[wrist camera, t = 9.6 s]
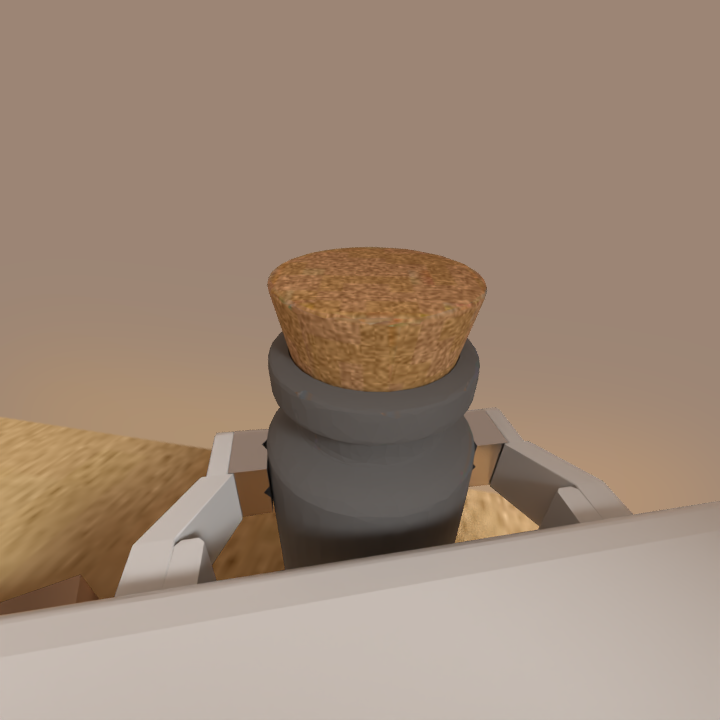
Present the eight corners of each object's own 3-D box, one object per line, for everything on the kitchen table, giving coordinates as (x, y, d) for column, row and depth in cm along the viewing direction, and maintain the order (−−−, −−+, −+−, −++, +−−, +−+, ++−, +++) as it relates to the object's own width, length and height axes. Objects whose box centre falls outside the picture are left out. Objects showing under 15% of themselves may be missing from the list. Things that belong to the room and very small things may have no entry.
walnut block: (105, 607, 20) (80, 574, 18) (92, 723, 16) (60, 696, 14) (-14, 653, 18) (-55, 621, 16) (-59, 796, 14) (-120, 776, 12)
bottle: (328, 531, 19) (314, 233, 11) (441, 570, 17) (516, 253, 10) (267, 659, 14) (168, 300, 6) (414, 731, 13) (520, 363, 5)
